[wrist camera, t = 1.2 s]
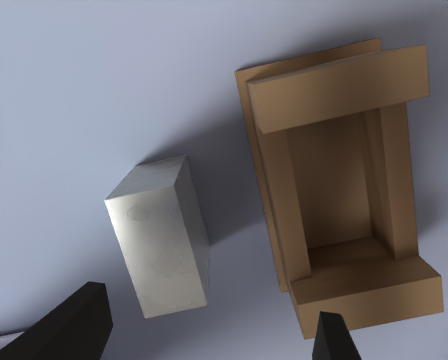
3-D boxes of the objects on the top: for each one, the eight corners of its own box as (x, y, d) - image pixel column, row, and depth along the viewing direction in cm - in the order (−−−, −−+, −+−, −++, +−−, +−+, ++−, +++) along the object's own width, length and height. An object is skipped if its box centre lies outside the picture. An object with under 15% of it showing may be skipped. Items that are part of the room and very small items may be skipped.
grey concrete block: (163, 256, 23) (144, 318, 17) (135, 165, 21) (104, 200, 15) (210, 246, 23) (207, 305, 17) (185, 154, 21) (173, 185, 15)
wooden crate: (279, 287, 23) (298, 350, 18) (234, 71, 20) (240, 71, 14) (398, 262, 23) (452, 320, 18) (375, 38, 19) (435, 25, 14)
